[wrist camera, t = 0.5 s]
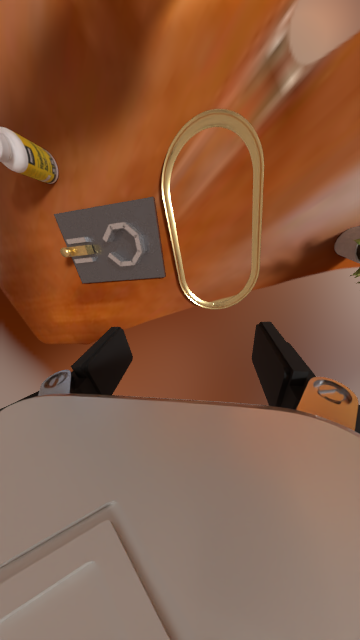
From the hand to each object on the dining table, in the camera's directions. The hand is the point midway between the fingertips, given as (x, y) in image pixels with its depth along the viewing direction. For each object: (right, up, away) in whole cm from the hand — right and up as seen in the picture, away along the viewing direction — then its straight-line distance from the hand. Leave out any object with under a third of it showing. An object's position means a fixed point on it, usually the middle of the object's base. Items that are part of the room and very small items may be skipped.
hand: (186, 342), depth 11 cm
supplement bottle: (-28, +34, +21) cm, 48 cm away
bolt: (-25, +19, +27) cm, 41 cm away
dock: (-17, +20, +26) cm, 37 cm away
